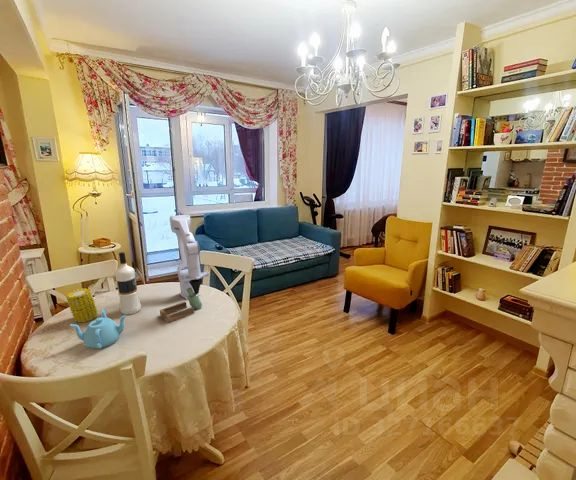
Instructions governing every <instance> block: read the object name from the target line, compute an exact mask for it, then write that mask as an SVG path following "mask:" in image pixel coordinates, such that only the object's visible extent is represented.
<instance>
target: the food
mask: <svg viewBox="0 0 576 480" xmlns="http://www.w3.org/2000/svg"><path fill="white" fill-rule="evenodd" d="M65 298H66V301H67V304H68V306H69V310H70V311H71V314H72V317H73V320H74V321H75V322H78V323H85V322H89V321H93V320H94V319H95V318H96V317H97V316H98V310H97V306H96V303H95V300H94V297H93V294H92V291H91V289H89V288H84V287H82V288H76V289H75V290H72V291H69V292H68V293H67V294H66V296H65Z"/></svg>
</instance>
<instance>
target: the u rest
mask: <svg viewBox="0 0 576 480" xmlns="http://www.w3.org/2000/svg"><path fill="white" fill-rule="evenodd" d="M194 314H195V310H194V308H193V307H191V306H190V307H189V308H187V302H186V301H182V302H179V303H176V304H173V305H170V306H167V307H165V308H162V309H159V315H160V317H161V318H163V320H165V321H166V322H167V323H168V324H169V323H172V322H175V321H177V320H180V319H183V318H186V317H188V316H191V315H194Z"/></svg>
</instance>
